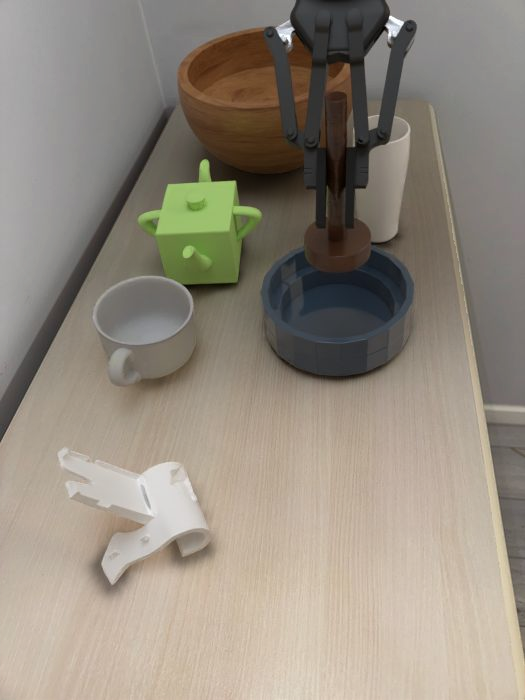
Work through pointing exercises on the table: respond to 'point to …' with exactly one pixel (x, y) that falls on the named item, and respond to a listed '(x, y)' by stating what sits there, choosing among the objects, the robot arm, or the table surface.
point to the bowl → (249, 100)
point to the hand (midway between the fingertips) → (335, 226)
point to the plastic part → (139, 508)
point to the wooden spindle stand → (337, 202)
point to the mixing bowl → (337, 313)
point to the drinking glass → (384, 182)
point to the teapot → (201, 230)
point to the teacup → (145, 328)
